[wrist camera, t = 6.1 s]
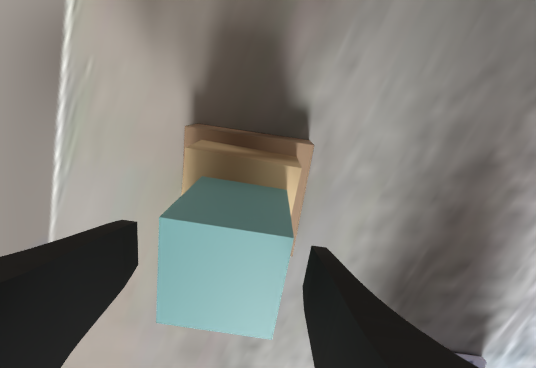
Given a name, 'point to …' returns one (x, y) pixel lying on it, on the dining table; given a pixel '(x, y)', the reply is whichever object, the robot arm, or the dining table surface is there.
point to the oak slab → (241, 167)
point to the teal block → (224, 258)
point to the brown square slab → (264, 143)
